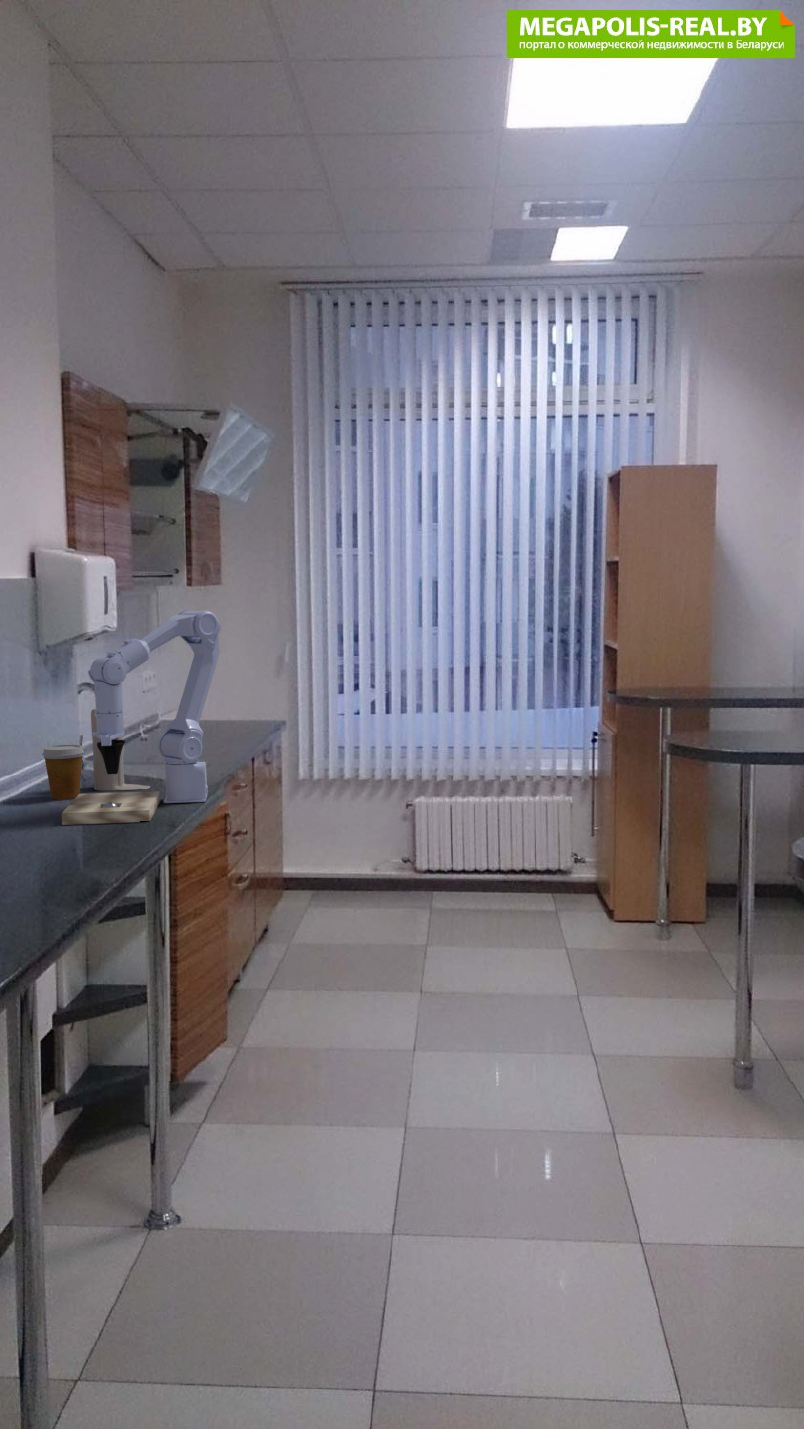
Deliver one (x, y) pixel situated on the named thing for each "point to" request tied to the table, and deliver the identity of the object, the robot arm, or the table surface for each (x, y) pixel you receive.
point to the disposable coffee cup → (64, 770)
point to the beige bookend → (100, 774)
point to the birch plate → (128, 809)
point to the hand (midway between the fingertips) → (112, 773)
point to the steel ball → (110, 805)
